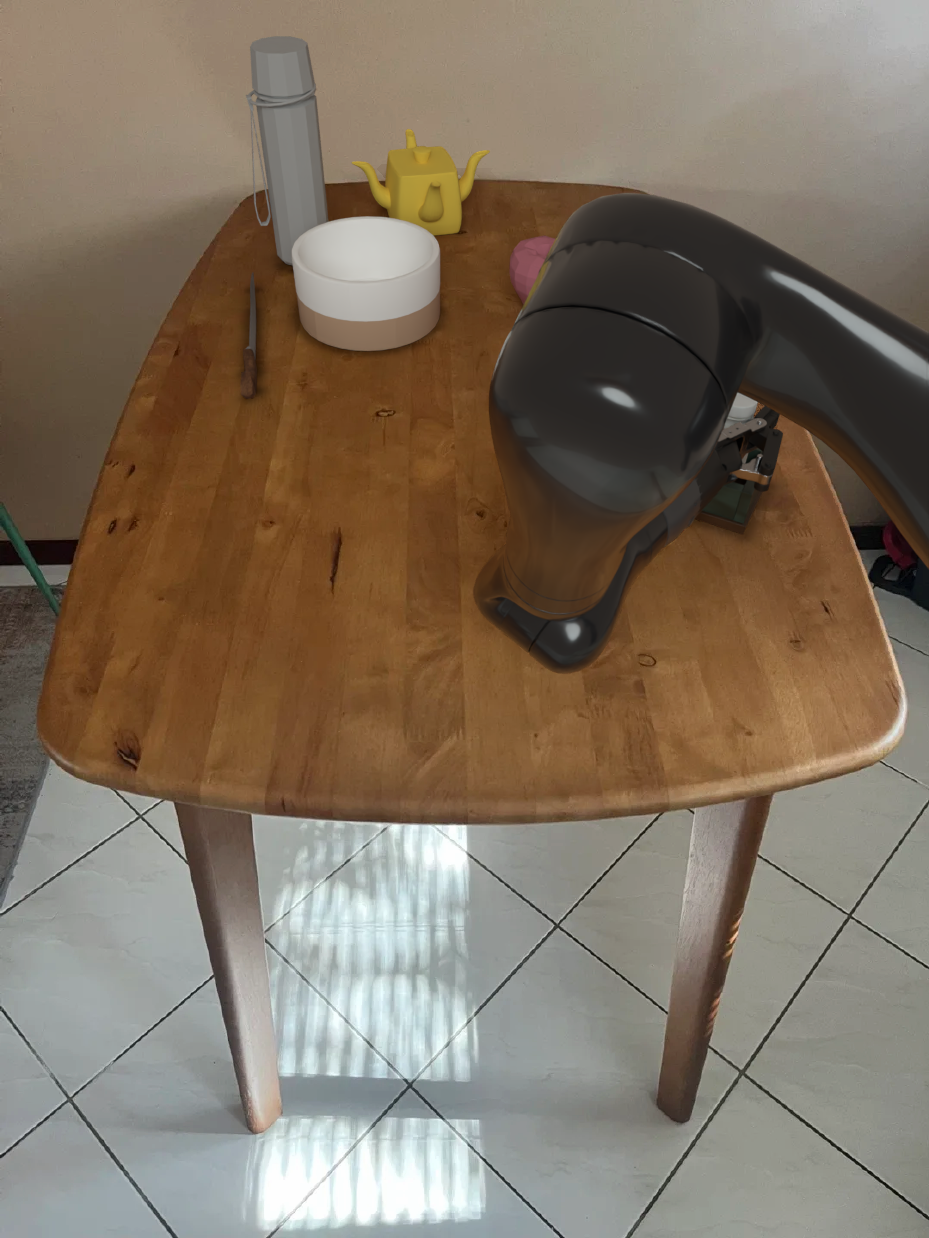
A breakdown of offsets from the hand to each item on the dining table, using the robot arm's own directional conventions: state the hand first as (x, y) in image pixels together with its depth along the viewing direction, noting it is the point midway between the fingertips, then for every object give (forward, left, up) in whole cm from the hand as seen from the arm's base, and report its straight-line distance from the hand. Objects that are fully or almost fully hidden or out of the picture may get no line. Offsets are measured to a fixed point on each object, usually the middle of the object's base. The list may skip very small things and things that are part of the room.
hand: (746, 400), depth 86 cm
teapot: (+55, -37, -10) cm, 67 cm away
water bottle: (+64, -19, -10) cm, 68 cm away
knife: (+57, 0, -10) cm, 58 cm away
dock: (0, +3, -10) cm, 10 cm away
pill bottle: (0, +3, -6) cm, 7 cm away
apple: (+29, -21, -10) cm, 37 cm away
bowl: (+48, -11, -10) cm, 50 cm away
